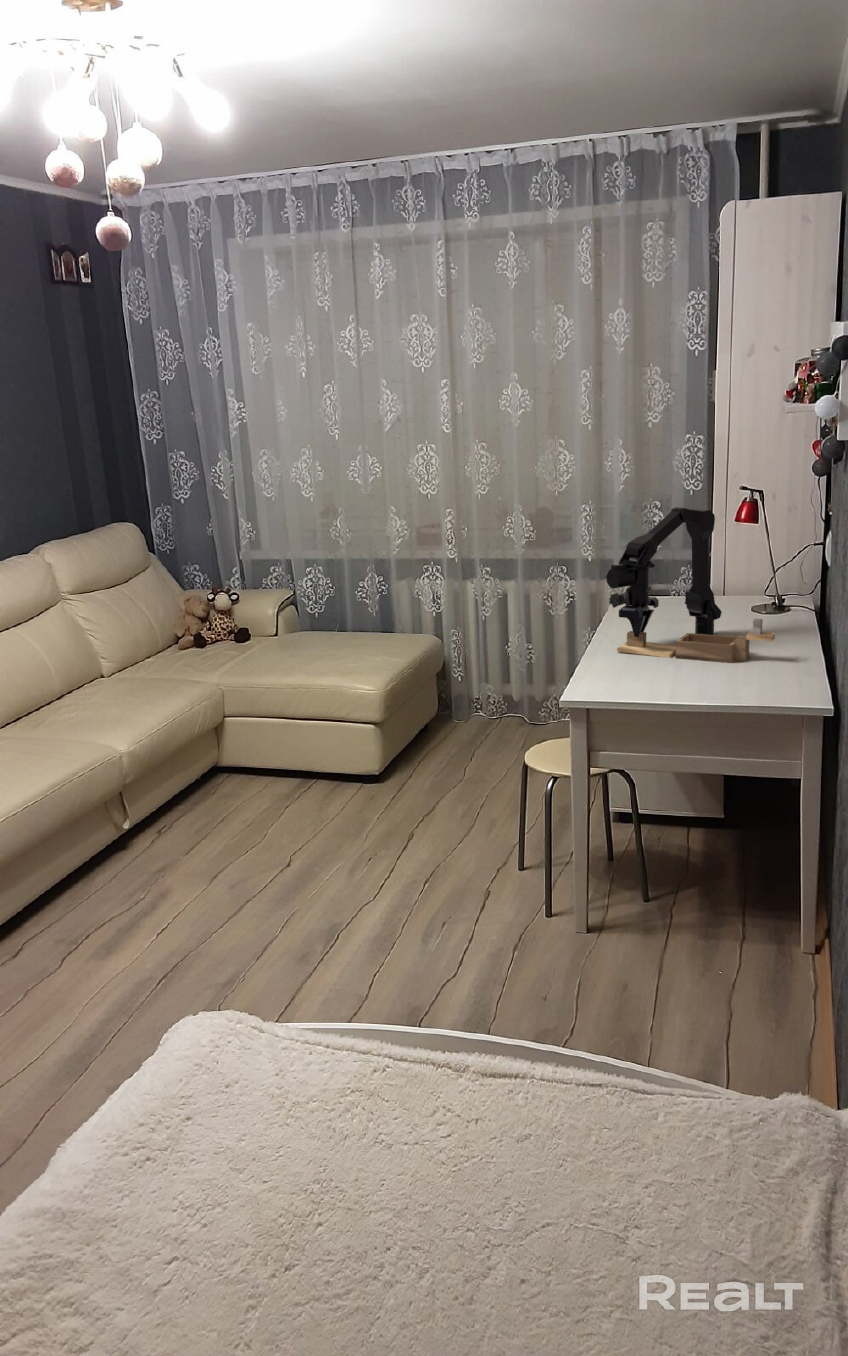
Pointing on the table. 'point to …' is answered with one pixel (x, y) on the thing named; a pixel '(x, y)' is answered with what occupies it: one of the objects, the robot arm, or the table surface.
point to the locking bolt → (759, 632)
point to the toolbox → (712, 648)
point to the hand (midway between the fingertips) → (638, 635)
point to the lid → (646, 646)
